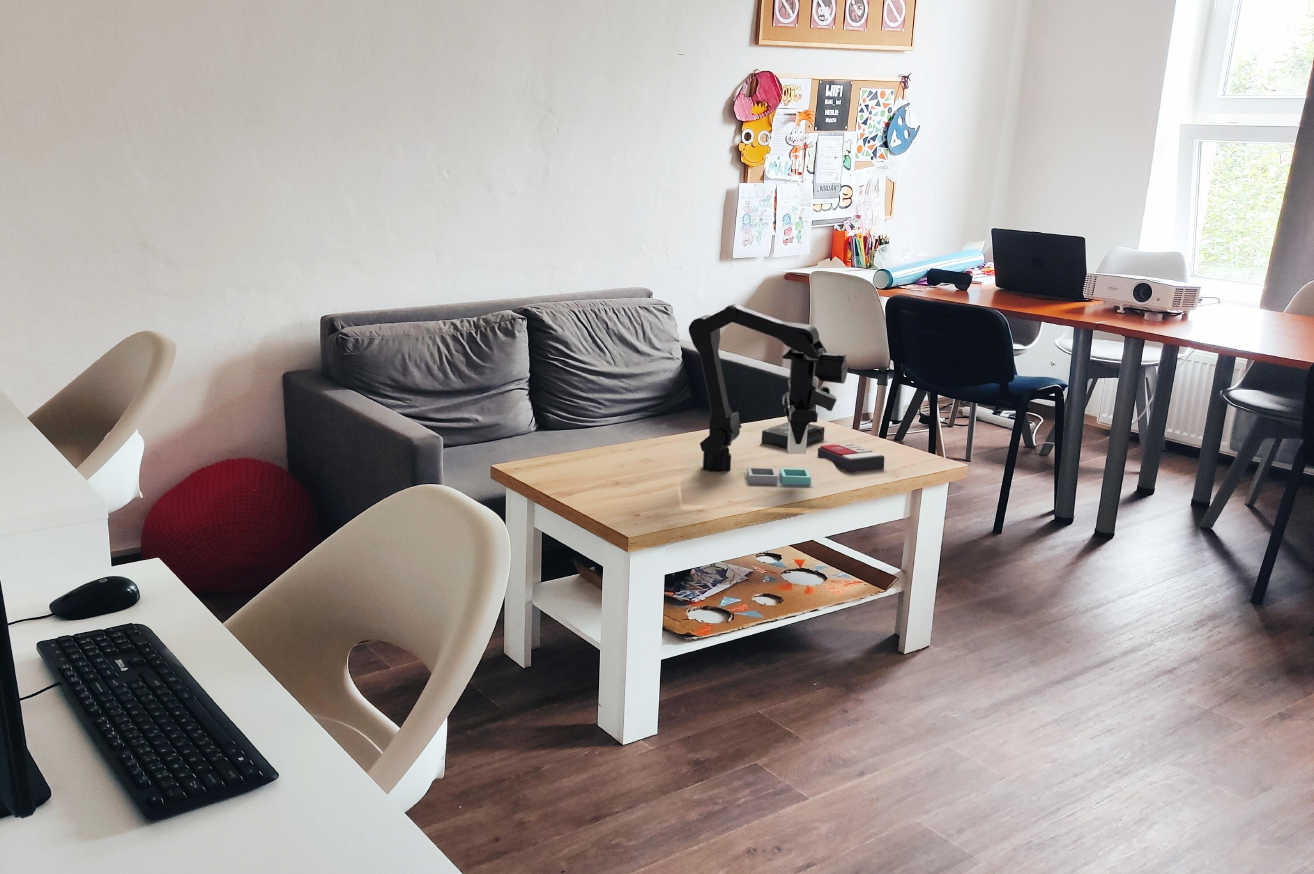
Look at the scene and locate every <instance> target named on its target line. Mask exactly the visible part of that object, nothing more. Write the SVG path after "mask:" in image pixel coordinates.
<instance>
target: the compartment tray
mask: <svg viewBox="0 0 1314 874" xmlns="http://www.w3.org/2000/svg"><path fill="white" fill-rule="evenodd" d="M744 479H745V483H746V486H749V487H751V486H752V487H754V486H756V487H778V488H779V487H781V488H783V487H784V488H785V487H787V488H808V489H809V488H814V485H813V483H812V476H811V473H810V472H809V470H808V469H807V468H791V467H790V468H788V467H785V468H784V467H783V468H781V467H779V473H777V470H776V468H775V467H760V466H759V467H757V466H756V467H752V466H751V467H750V466H747V468H746V472H744Z"/></svg>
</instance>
